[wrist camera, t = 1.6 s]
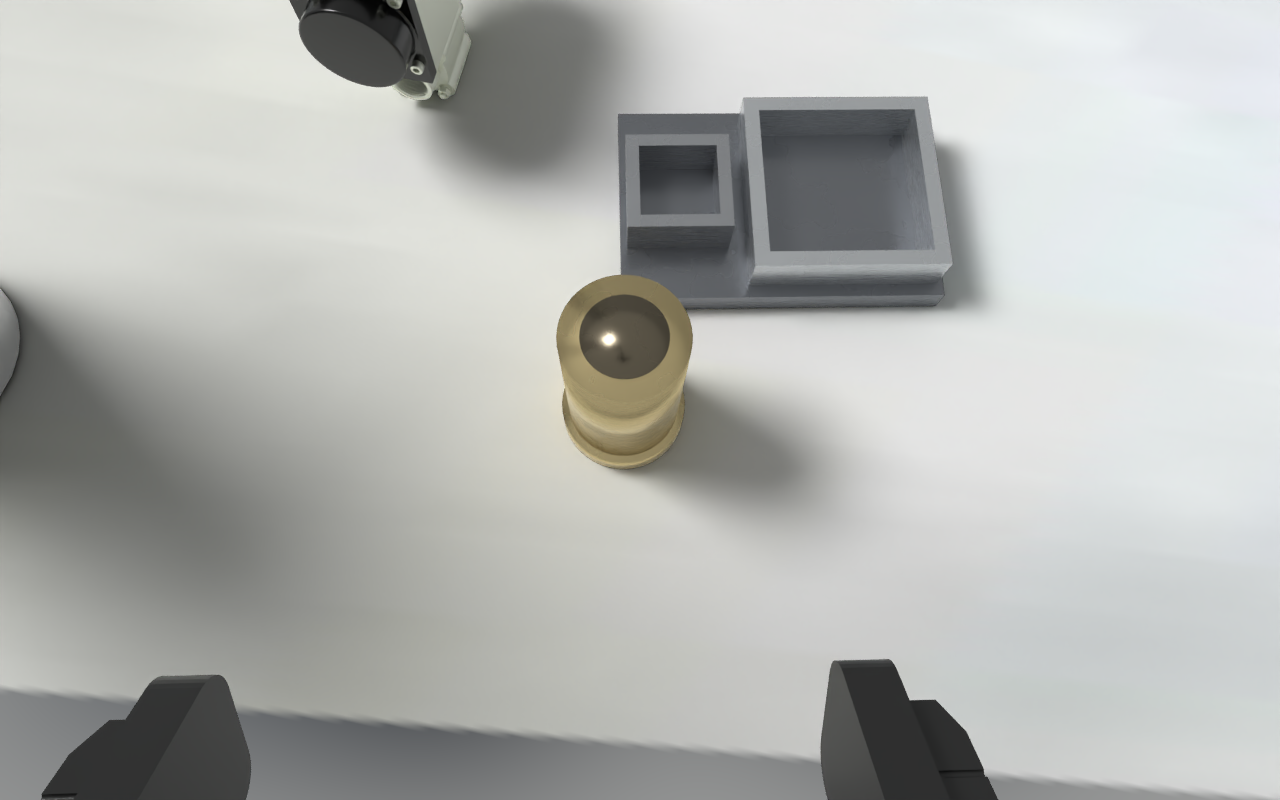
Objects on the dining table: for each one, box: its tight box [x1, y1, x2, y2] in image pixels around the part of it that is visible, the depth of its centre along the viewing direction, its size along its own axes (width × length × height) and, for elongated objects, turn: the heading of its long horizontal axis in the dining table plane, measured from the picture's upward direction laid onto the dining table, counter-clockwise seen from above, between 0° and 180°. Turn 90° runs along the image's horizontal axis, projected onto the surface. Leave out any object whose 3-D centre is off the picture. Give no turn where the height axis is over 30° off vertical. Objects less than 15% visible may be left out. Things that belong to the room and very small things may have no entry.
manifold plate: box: [618, 97, 953, 309], centre depth 40 cm, size 15×10×3 cm, turn 91°
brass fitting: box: [556, 275, 693, 469], centre depth 34 cm, size 5×5×9 cm
